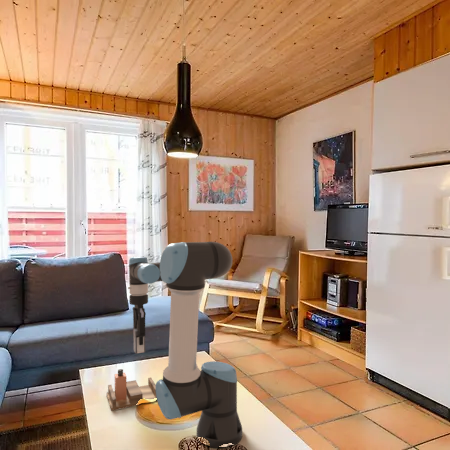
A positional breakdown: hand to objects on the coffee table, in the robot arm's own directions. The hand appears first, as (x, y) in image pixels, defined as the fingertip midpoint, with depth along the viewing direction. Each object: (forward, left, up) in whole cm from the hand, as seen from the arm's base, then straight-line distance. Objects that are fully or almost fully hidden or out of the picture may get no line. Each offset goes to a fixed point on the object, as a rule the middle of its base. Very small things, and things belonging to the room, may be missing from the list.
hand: (139, 350), depth 152 cm
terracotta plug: (-2, +8, -17) cm, 19 cm away
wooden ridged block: (-2, +3, -18) cm, 18 cm away
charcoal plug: (0, 0, 0) cm, 0 cm away
